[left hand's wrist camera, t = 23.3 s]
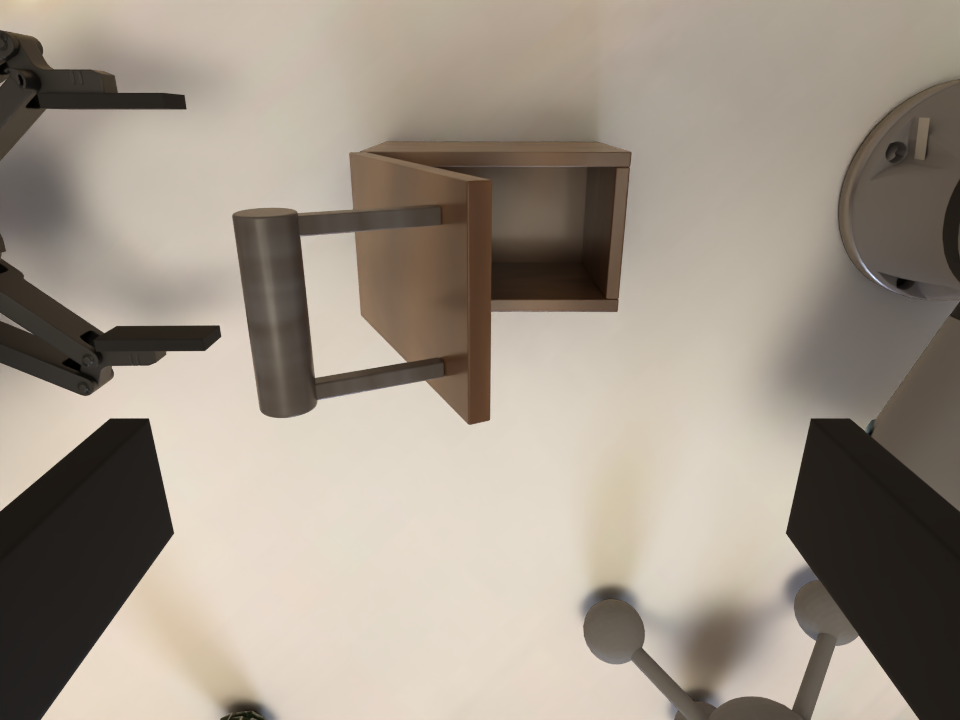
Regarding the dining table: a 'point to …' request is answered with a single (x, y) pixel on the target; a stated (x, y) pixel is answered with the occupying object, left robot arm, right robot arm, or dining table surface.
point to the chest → (544, 217)
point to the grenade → (244, 716)
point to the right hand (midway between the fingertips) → (195, 227)
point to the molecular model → (620, 640)
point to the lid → (379, 286)
